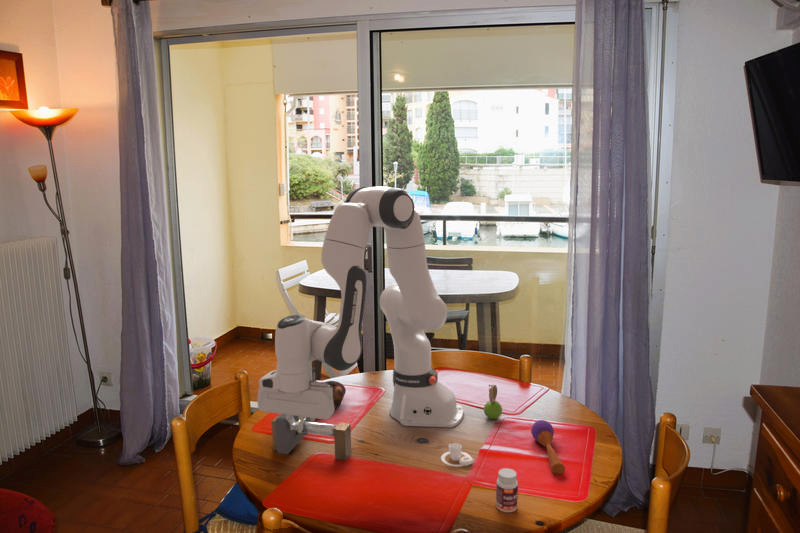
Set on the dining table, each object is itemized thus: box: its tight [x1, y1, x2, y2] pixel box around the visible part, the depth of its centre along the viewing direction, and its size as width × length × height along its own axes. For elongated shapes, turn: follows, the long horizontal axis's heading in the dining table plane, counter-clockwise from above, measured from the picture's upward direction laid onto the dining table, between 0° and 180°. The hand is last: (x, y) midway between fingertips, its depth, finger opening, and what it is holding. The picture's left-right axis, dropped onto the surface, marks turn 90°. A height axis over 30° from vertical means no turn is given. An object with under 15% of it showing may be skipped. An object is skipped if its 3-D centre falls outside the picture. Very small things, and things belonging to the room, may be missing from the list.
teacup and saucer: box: [440, 442, 474, 468], centre depth 152 cm, size 9×8×4 cm
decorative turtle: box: [324, 380, 347, 410], centre depth 185 cm, size 10×15×8 cm, turn 166°
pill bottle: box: [495, 467, 519, 513], centre depth 131 cm, size 5×5×8 cm
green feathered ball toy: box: [483, 384, 503, 420], centre depth 174 cm, size 5×6×12 cm
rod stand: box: [271, 414, 352, 462], centre depth 157 cm, size 21×4×9 cm, turn 74°
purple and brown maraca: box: [531, 419, 566, 475], centre depth 154 cm, size 6×6×20 cm
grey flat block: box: [275, 414, 310, 455], centre depth 158 cm, size 3×14×9 cm, turn 163°
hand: (297, 429), depth 151 cm, fingers closed
